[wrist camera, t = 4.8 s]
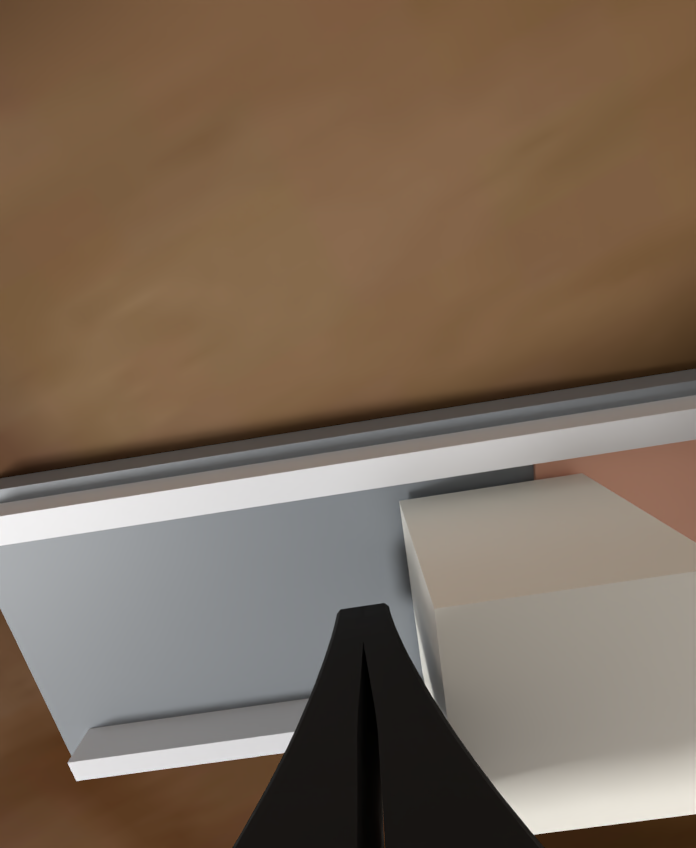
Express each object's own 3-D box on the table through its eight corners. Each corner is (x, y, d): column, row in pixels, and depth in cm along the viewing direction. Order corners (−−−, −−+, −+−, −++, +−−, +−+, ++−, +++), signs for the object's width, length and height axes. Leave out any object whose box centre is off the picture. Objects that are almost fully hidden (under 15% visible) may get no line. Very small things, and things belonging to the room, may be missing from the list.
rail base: (739, 632, 13) (913, 767, 9) (95, 722, 14) (-7, 885, 10) (778, 355, 11) (1044, 373, 7) (-13, 480, 11) (-210, 565, 7)
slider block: (581, 650, 11) (702, 813, 8) (422, 671, 12) (462, 844, 8) (581, 473, 10) (734, 565, 6) (399, 500, 10) (434, 608, 6)
